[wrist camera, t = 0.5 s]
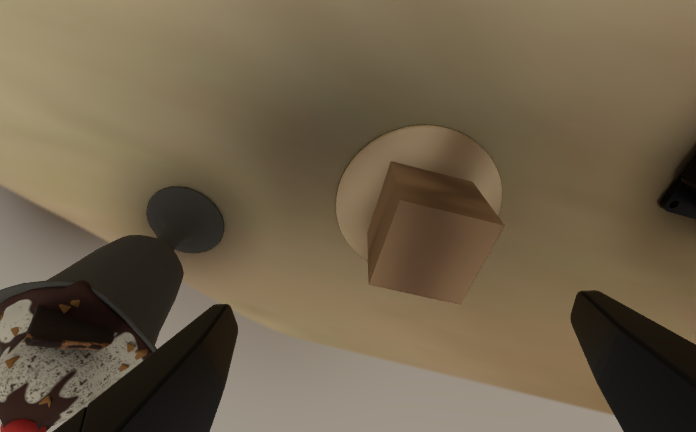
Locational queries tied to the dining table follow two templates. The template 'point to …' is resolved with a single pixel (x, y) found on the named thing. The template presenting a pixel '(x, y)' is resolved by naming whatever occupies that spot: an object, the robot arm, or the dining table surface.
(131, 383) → the robot arm
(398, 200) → the walnut block
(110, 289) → the sundae
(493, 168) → the cork coaster
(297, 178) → the dining table surface
